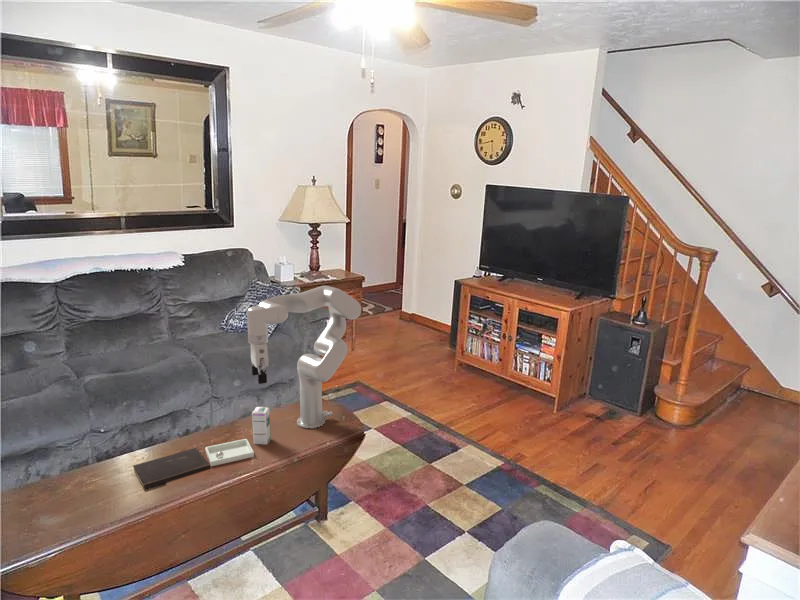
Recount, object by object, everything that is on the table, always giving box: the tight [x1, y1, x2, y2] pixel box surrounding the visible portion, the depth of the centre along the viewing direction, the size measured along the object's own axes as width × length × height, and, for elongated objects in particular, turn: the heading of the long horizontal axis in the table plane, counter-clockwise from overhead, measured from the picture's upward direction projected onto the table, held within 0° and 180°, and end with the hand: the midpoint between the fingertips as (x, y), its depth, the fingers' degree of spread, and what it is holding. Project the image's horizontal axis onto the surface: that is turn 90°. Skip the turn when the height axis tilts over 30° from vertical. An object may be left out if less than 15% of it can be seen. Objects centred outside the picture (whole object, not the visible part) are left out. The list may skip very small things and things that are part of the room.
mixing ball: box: [216, 451, 224, 459], centre depth 206 cm, size 3×3×3 cm
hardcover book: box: [132, 447, 211, 491], centre depth 199 cm, size 16×23×2 cm
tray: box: [205, 438, 255, 467], centre depth 210 cm, size 16×12×2 cm
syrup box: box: [251, 406, 272, 445], centre depth 219 cm, size 6×6×14 cm
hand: (259, 378), depth 215 cm, fingers open, 9 cm apart
